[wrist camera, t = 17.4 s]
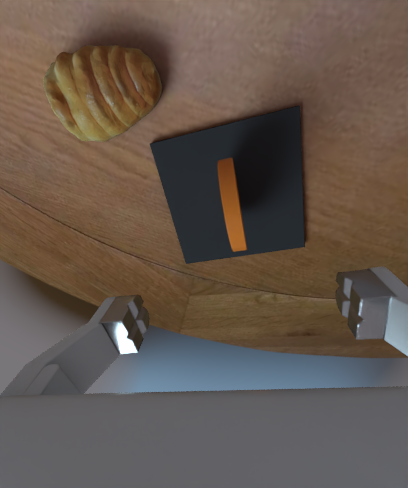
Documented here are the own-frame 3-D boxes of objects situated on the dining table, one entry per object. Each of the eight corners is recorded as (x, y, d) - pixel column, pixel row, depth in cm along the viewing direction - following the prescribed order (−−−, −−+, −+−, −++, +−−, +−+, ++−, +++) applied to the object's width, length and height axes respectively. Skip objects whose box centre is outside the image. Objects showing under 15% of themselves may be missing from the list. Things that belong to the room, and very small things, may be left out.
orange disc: (220, 159, 23) (214, 161, 15) (232, 157, 22) (231, 157, 15) (233, 235, 25) (234, 267, 18) (244, 233, 25) (249, 265, 17)
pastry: (147, 28, 19) (129, 7, 15) (174, 118, 21) (164, 117, 18) (53, 69, 21) (19, 59, 17) (90, 147, 23) (67, 151, 20)
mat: (151, 143, 23) (149, 143, 22) (298, 106, 20) (300, 105, 19) (186, 261, 29) (186, 263, 28) (303, 244, 26) (304, 247, 25)
